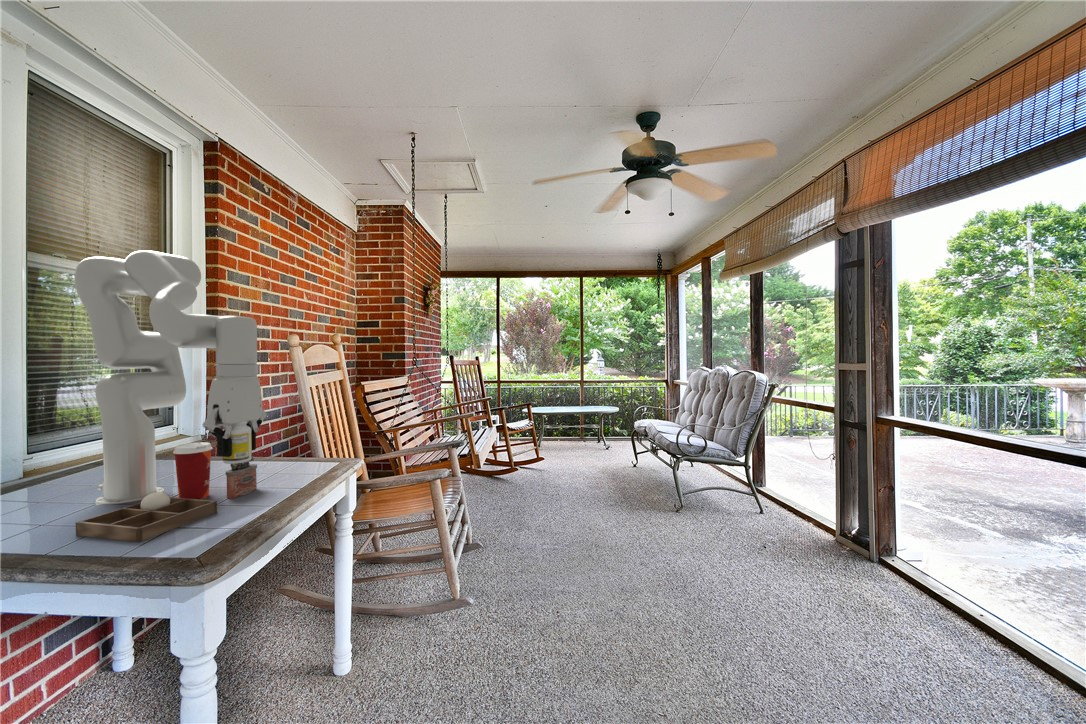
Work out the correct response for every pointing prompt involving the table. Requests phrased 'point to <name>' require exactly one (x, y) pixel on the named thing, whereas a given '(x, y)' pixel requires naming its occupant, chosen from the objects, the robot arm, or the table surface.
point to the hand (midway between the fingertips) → (237, 452)
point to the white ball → (155, 501)
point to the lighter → (241, 479)
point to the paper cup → (193, 469)
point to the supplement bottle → (240, 444)
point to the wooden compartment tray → (145, 520)
